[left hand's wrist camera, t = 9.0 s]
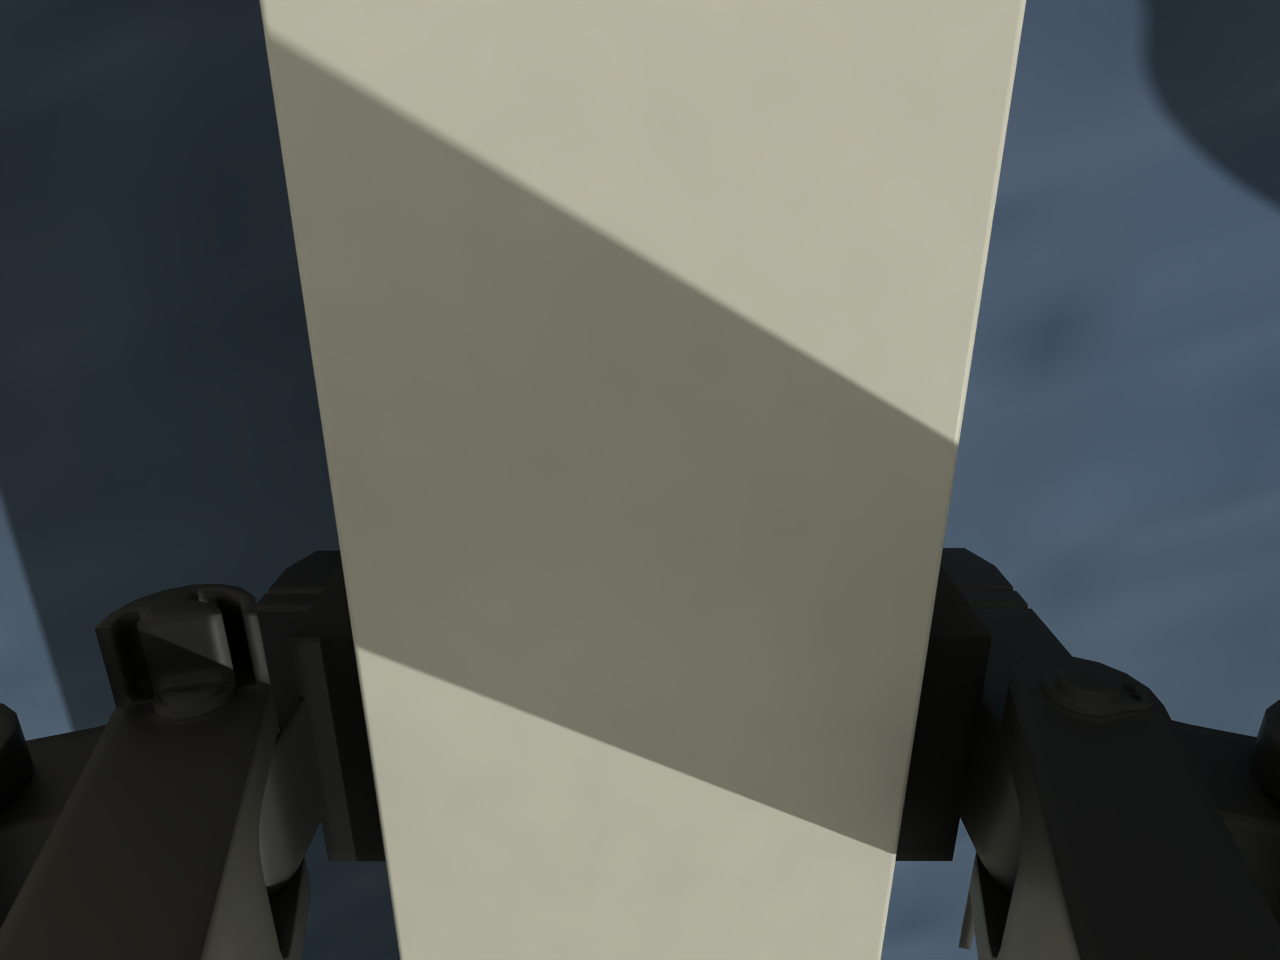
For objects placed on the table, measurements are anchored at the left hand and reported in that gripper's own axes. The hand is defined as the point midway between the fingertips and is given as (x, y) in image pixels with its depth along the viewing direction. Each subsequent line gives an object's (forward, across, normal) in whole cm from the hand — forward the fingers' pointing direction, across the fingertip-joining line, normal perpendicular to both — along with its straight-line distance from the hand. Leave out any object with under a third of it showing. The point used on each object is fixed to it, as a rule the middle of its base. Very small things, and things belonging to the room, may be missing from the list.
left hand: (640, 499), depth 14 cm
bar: (+1, 0, -24) cm, 24 cm away
